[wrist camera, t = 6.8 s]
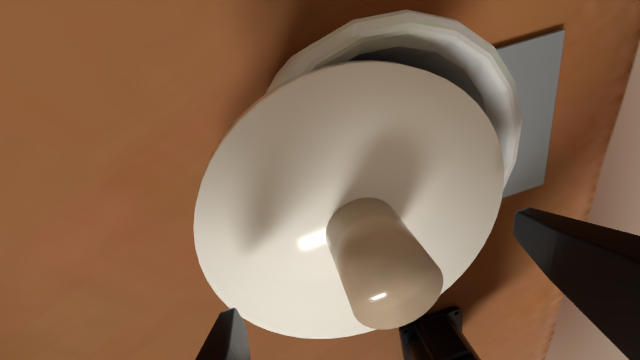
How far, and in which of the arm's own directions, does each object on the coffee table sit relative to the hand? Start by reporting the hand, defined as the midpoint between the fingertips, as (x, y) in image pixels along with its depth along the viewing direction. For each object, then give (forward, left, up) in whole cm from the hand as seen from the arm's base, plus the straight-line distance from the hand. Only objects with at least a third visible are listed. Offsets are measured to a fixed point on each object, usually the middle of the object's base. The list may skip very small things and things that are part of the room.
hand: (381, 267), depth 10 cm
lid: (0, 0, -3) cm, 3 cm away
